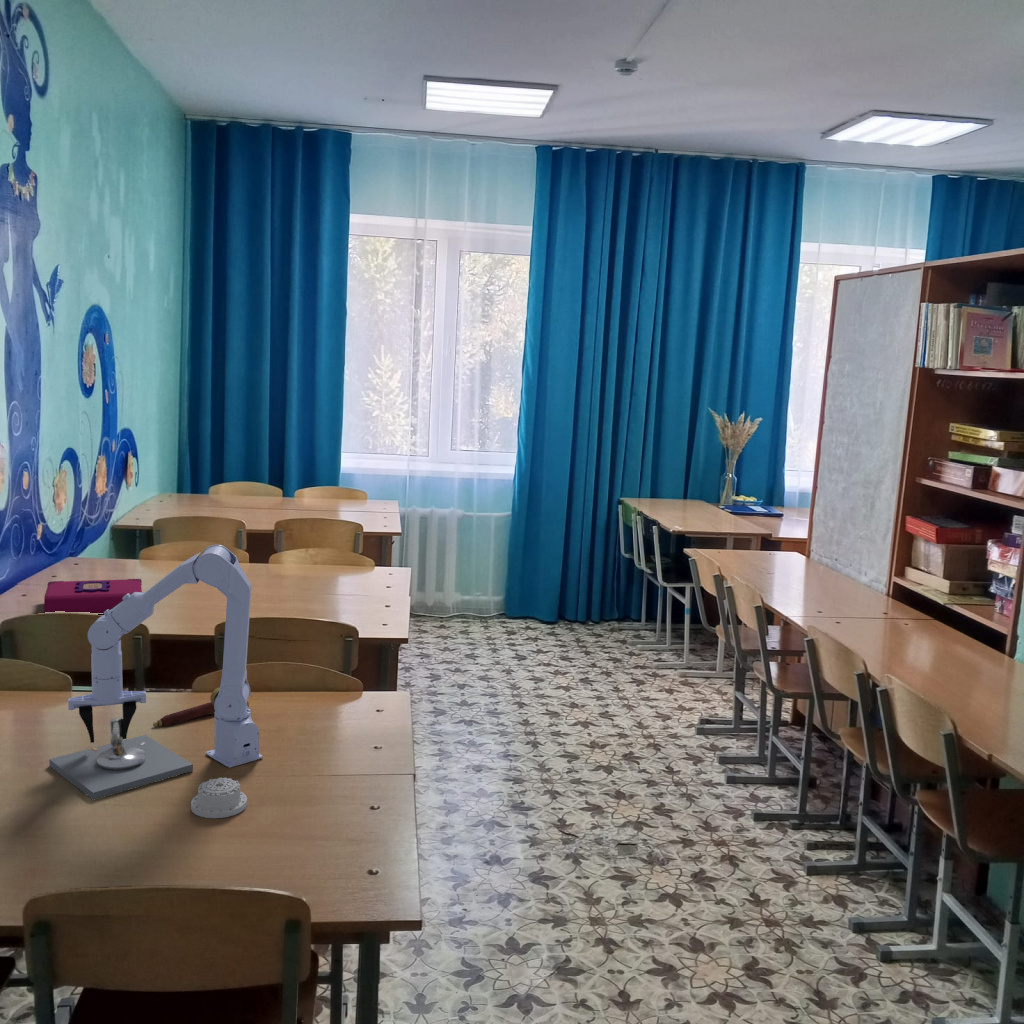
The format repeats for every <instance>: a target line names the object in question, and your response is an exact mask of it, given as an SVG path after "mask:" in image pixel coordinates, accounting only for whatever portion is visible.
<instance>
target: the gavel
mask: <svg viewBox="0 0 1024 1024" xmlns="http://www.w3.org/2000/svg"><path fill="white" fill-rule="evenodd" d="M219 691H220V686H219V687H217V688H215V689H214V690H213V691H212V692H211V694H210V702H207V703H206V702H205V703H204V704H200V705H196V706H193V707H190V708H186V709H183V710H179V711H177V712H173V713H169V714H167V715H164V716H162V717H161V718H159V719H158V720H157V721H156V722H155V721H154V722H153V723H152V726H153V727H154V728H156V727H170V726H174V725H177V724H176V723H178V724H180V723H179V722H181V723H184V722H183V721H185V722H187V721H186V720H188V721H190V719H191V720H194V719H193V718H195V719H198V718H201V717H203V716H204V717H205V716H208V715H211V714H213V713H215V709H214V702H215V699H216V698H217V696H218V694H219ZM247 706H248V707H249V708H250V704H249V701H247ZM207 714H208V715H207ZM200 716H201V717H200ZM197 717H198V718H197ZM173 724H174V725H173ZM169 725H170V726H169Z"/></svg>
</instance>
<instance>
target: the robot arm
mask: <svg viewBox="0 0 1024 1024" xmlns="http://www.w3.org/2000/svg"><path fill="white" fill-rule="evenodd" d="M200 555H201V556H200ZM199 582H202V583H203V584H206V585H208V586H210V587H213V588H215V589H217V590H218V591H220V593H221V594H223V595H224V596H225V597H226V609H225V611H226V612H225V626H224V627H225V628H224V640H223V642H224V643H223V656H222V657H223V659H222V672H221V680H220V684H219V685H220V686H219V687H220V691H219V694H218V696H217V698H216V699H215V702H214V709H215V712H214V733H213V734H214V739H213V741H214V745H213V746H214V749H211V750H207V751H205V754H206V755H207V756H209V757H210V758H212V759H214V760H215V761H217V762H218V763H221V764H222V765H223V766H225V767H227V768H233V767H238V766H241V765H243V764H248V763H251V762H253V761H257V759H258V760H260V758H261V759H262V758H263V757H264V756H263V755H262V754H261V753H260V730H259V727H258V725H257V724H256V723H255V722H254V721H253V719H252V716H251V713H252V712H251V711H252V709H250V706H249V707H248V706H247V701H248V700H249V698H250V696H251V686H250V684H249V681H248V671H247V663H248V662H247V659H248V643H249V631H250V630H249V629H250V615H251V600H252V599H251V598H252V584H251V582H250V579H249V578H248V576H247V575H246V573H245V571H244V570H243V568H242V566H241V564H240V562H239V560H238V557H237V555H236V554H235V553H233V552H232V551H231V550H229V548H227V547H225V545H221V544H212V545H209V546H207V547H206V548H205V549H204V550H203V552H202V554H201V552H197V553H196V554H195V555H193V556H191V557H189V558H188V559H186V560H185V561H183V562H182V563H180V564H179V565H178V566H176V567H175V568H174V569H172V571H169V572H168V574H166V575H165V576H164V577H162V579H160V580H158V581H157V582H156V583H155V584H154V585H152V586H151V587H150V588H149V589H148V590H146V591H145V592H143V591H142V592H134V593H133V594H131V595H130V594H129V593H128V594H126V595H125V596H124V597H123V598H122V599H123V601H122V602H121V603H119V604H118V605H117V606H115V607H114V608H113V609H111V610H109V609H107V610H106V611H105V612H104V613H103V614H104V615H100V616H99V617H98V618H97V619H96V620H95V621H94V622H93V623H92V625H90V627H89V629H88V631H87V640H88V642H89V644H90V645H91V655H90V658H91V659H90V660H91V661H90V662H91V693H89V694H85V695H80V696H75V697H69V698H67V702H68V703H67V704H68V709H67V710H68V711H73V710H75V709H78V714H79V717H80V718H81V719H82V721H83V724H84V725H85V729H86V730H87V732H88V735H89V742H90V743H93V744H94V743H95V733H94V732H95V731H94V721H93V720H94V715H93V707H102V706H104V707H105V706H114V705H115V706H117V705H121V706H122V719H123V740H127V735H128V731H129V727H130V723H131V721H132V719H133V717H134V715H135V713H136V711H137V703H140V704H145V703H147V693H146V690H141V691H139V690H137V691H135V690H134V691H133V690H123V652H122V639H121V638H122V637H123V636H124V635H125V634H129V633H130V632H131V631H133V629H135V628H137V627H138V626H139V625H141V624H142V623H143V622H144V621H146V620H147V619H148V618H150V617H151V616H152V615H154V611H155V605H156V604H158V603H159V602H161V601H162V600H164V599H165V598H166V597H169V595H170V594H173V593H174V592H175V591H177V590H178V589H179V588H181V587H182V586H183V585H185V584H189V585H190V584H191V585H196V584H198V583H199ZM248 702H249V701H248Z"/></svg>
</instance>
